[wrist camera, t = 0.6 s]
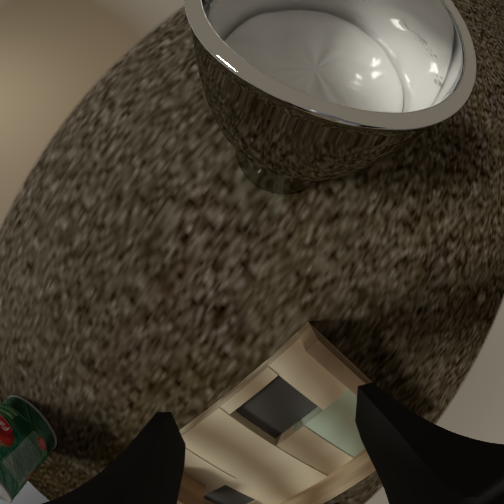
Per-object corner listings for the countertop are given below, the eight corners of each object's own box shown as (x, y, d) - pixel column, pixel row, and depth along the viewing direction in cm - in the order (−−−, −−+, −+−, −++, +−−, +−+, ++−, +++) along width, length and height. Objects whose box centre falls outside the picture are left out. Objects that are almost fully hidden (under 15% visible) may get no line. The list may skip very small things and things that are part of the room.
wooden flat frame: (239, 518, 22) (238, 540, 19) (134, 460, 22) (124, 483, 18) (406, 413, 21) (421, 433, 17) (308, 321, 20) (318, 340, 16)
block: (180, 497, 20) (174, 522, 17) (147, 478, 20) (138, 502, 17) (205, 485, 20) (201, 512, 17) (171, 464, 20) (162, 491, 16)
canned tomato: (23, 387, 21) (-39, 436, 10) (68, 444, 22) (22, 505, 11) (0, 402, 21) (-51, 443, 10) (39, 452, 22) (-2, 501, 11)
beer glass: (222, 109, 18) (172, -69, 4) (321, 99, 18) (415, -57, 3) (237, 208, 19) (185, 163, 4) (340, 194, 19) (516, 147, 4)
